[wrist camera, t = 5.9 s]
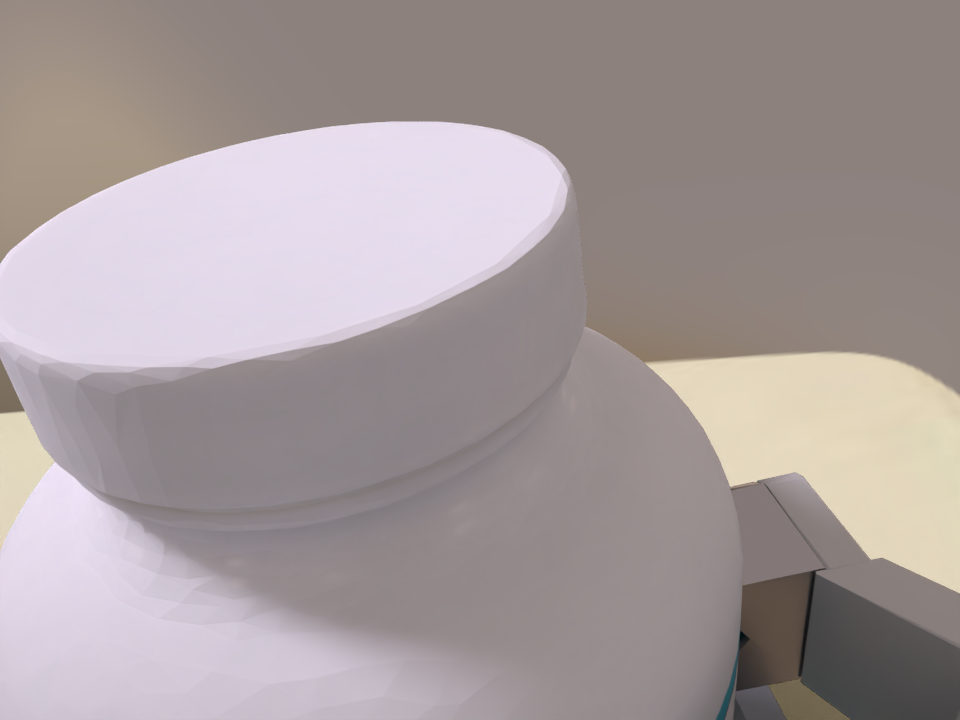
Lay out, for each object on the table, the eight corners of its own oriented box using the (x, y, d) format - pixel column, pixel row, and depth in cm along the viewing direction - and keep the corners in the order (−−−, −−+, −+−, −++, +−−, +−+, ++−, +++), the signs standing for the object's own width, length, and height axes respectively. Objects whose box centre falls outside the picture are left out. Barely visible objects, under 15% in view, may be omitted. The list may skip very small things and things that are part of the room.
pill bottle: (309, 765, 17) (64, 121, 10) (668, 748, 17) (670, 50, 10) (196, 1300, 11) (-649, 570, 4) (770, 1304, 10) (992, 447, 3)
